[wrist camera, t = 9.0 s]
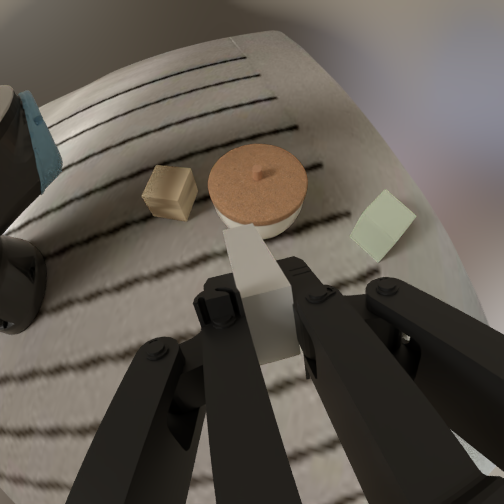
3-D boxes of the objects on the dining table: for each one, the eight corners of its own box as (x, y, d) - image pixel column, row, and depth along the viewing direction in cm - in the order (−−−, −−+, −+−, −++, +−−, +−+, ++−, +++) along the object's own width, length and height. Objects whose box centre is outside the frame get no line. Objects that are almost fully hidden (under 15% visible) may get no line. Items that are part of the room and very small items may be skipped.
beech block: (153, 216, 39) (141, 196, 34) (166, 187, 40) (156, 165, 36) (187, 221, 38) (177, 200, 33) (198, 191, 40) (190, 168, 35)
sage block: (349, 236, 36) (362, 212, 31) (370, 214, 37) (385, 188, 32) (377, 263, 35) (396, 242, 29) (398, 238, 36) (416, 216, 30)
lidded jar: (250, 170, 41) (247, 121, 32) (315, 207, 38) (328, 161, 29) (200, 223, 38) (183, 179, 29) (268, 270, 35) (270, 233, 26)
